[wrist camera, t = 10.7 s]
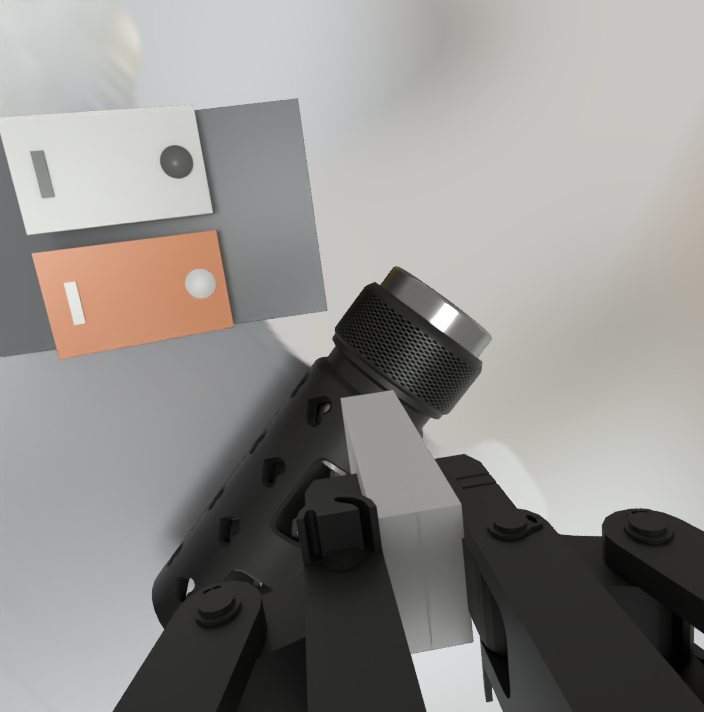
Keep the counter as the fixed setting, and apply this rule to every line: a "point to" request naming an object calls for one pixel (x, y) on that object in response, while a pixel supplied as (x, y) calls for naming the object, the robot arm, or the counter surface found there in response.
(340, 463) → the muzzle brake
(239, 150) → the switch module
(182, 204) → the light grey flat plate
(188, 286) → the orange slotted plate
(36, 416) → the counter surface
